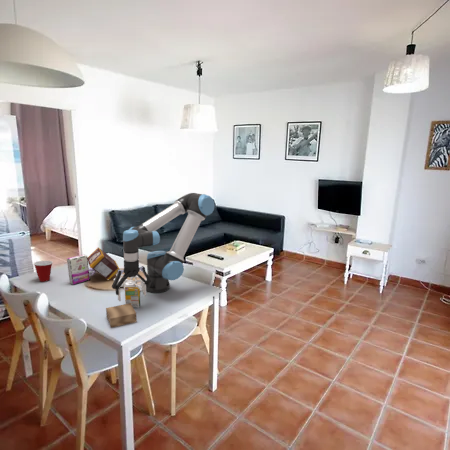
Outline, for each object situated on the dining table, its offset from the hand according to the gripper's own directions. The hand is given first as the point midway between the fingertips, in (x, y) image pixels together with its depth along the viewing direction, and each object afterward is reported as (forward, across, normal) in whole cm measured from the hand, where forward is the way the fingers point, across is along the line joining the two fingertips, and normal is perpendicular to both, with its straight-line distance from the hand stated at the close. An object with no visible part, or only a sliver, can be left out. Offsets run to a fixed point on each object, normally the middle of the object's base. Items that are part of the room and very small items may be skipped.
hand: (132, 297), depth 169 cm
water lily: (+4, +3, -60) cm, 61 cm away
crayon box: (+5, 0, 0) cm, 5 cm away
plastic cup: (+6, +38, -64) cm, 75 cm away
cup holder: (+5, -5, -26) cm, 27 cm away
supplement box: (+1, -1, -50) cm, 50 cm away
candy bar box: (+5, +19, -50) cm, 54 cm away
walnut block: (+6, +9, +11) cm, 15 cm away
